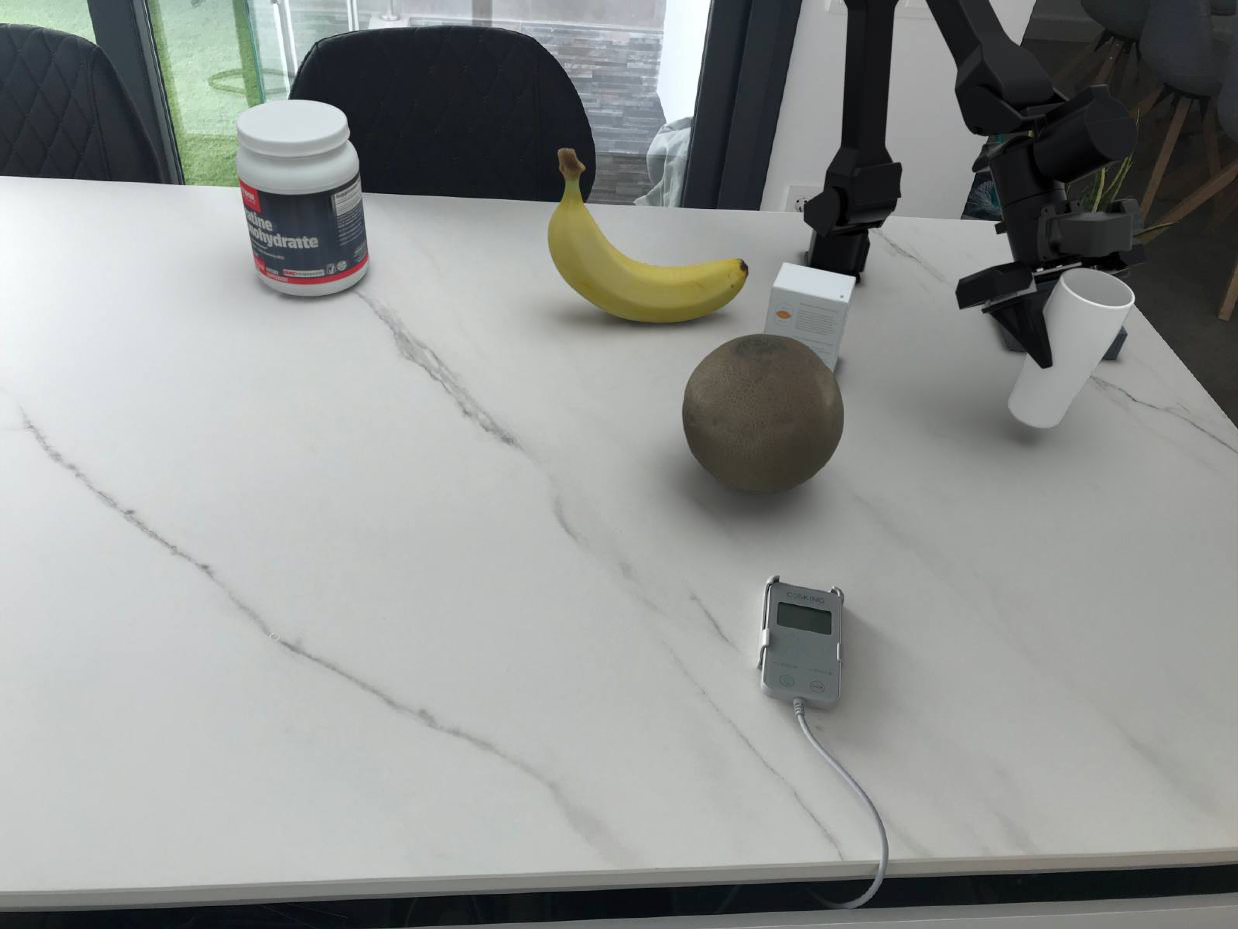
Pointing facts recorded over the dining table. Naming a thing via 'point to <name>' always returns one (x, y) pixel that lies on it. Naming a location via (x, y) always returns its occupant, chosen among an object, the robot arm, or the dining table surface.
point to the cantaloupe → (762, 413)
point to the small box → (810, 308)
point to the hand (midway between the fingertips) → (1073, 360)
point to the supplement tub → (302, 197)
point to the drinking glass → (1071, 343)
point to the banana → (631, 267)
